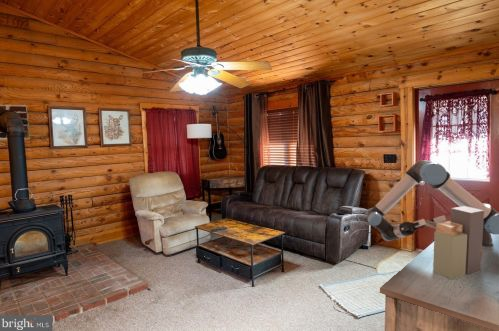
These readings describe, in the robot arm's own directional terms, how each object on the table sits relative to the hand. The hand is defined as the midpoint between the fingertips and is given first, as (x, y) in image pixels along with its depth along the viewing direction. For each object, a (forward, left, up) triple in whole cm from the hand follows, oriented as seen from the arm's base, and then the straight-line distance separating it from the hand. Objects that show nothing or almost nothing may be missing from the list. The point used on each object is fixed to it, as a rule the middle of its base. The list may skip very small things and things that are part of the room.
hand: (435, 219), depth 157 cm
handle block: (0, +3, -4) cm, 5 cm away
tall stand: (-10, +8, -24) cm, 28 cm away
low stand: (0, +8, -24) cm, 26 cm away
